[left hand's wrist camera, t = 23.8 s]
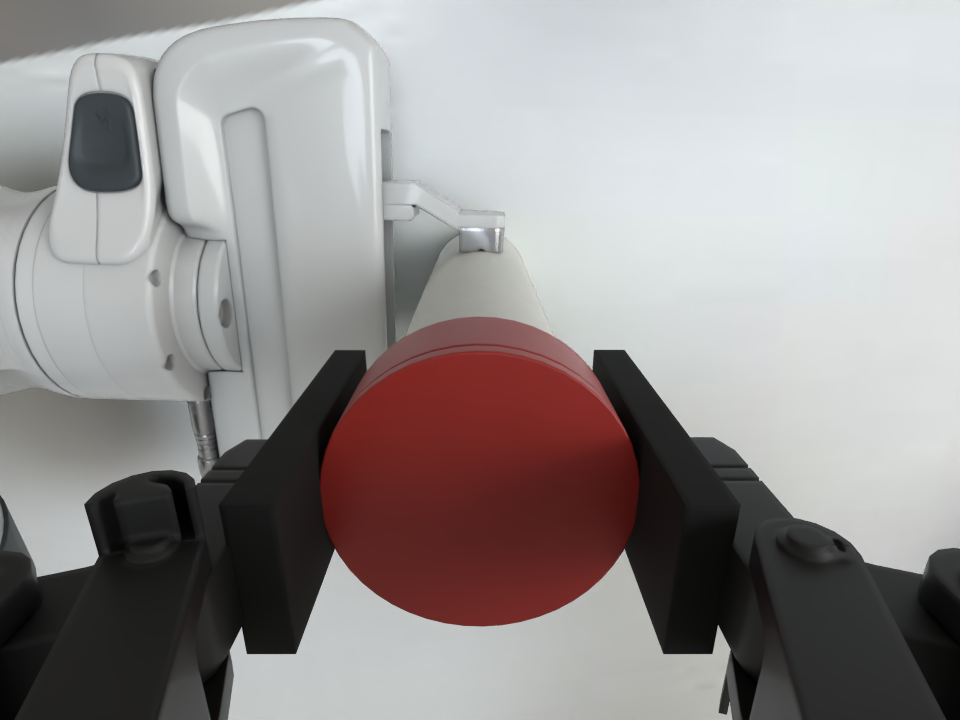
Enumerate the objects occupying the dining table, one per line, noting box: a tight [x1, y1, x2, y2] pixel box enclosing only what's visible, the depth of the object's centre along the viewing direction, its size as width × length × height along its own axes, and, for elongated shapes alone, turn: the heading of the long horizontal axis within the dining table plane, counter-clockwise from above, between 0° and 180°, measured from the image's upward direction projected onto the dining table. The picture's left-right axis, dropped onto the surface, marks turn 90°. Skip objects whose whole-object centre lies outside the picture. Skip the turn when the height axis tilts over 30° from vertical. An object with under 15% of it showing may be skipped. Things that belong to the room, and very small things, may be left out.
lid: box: [320, 317, 640, 626], centre depth 11 cm, size 6×6×2 cm
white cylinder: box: [405, 235, 555, 337], centre depth 20 cm, size 5×5×20 cm
